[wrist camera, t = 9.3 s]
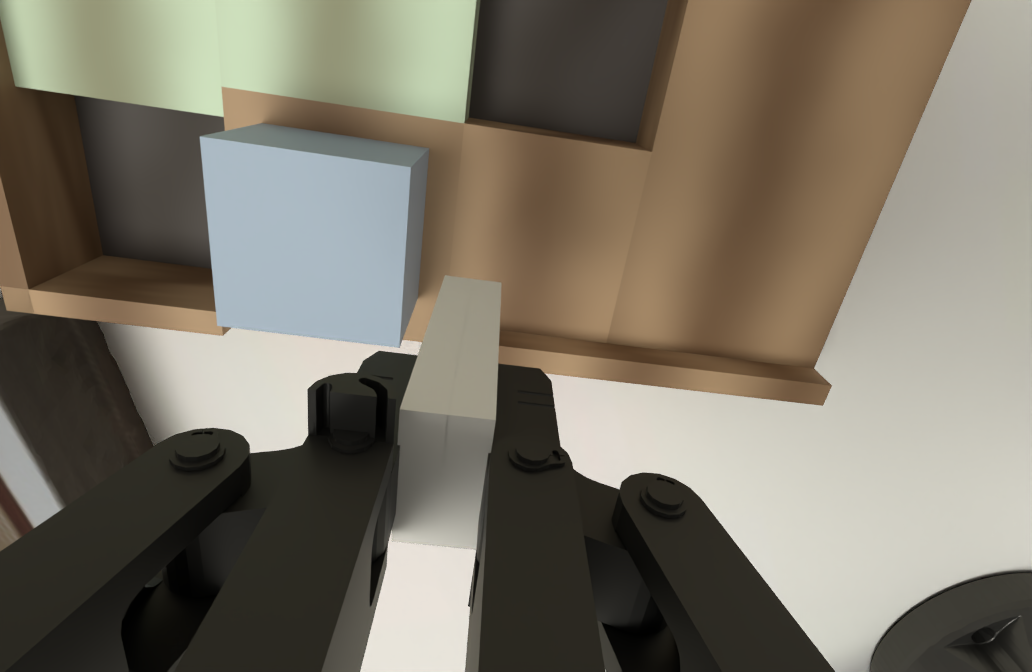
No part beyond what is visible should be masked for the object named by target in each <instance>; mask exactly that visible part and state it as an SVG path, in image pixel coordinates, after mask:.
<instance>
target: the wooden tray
mask: <svg viewBox="0 0 1032 672" xmlns="http://www.w3.org/2000/svg"><path fill="white" fill-rule="evenodd" d="M970 2H971V0H0V288H1V291H2V295H3V299H4V302H5V306H6V310H7V311H15V312H24V313H32V314H41V315H49V316H58V317H67V318H75V319H84V320H92V321H101V322H110V323H118V324H127V325H135V326H144V327H152V328H161V329H170V330H178V331H187V332H195V333H204V334H213V335H221V336H223V335H224V334H225V333H226V332H227V331H228V330H229V329H231V327H222V326H217V318H216V307H215V296H214V286H213V275H212V264H211V253H210V242H209V232H208V221H207V210H206V199H205V189H204V178H203V167H202V156H201V146H200V136H204V135H208V134H213V133H218V132H222V131H227V130H232V129H236V128H241V127H246V126H250V125H255V124H260V123H265V124H271V125H278V126H285V127H291V128H298V129H305V130H311V131H318V132H325V133H331V134H338V135H345V136H352V137H358V138H365V139H372V140H378V141H385V142H392V143H398V144H405V145H412V146H418V147H425V148H429V158H428V171H427V184H426V197H425V211H424V224H423V237H422V250H421V263H420V276H419V290H418V299H417V302H416V305H415V307H414V310H413V313H412V315H411V318H410V321H409V324H408V326H407V329H406V332H405V334H404V337H403V340H410V341H418V342H423V339H424V336H425V333H426V330H427V327H428V324H429V321H430V318H431V315H432V312H433V309H434V306H435V303H436V300H437V297H438V294H439V291H440V288H441V285H442V283H443V280H444V277H445V275H447V276H454V277H462V278H470V279H477V280H485V281H493V282H501V307H500V331H499V355H498V363H499V364H507V365H515V366H524V367H532V368H540V369H541V370H542V371H543V372H544V373H547V374H556V375H565V376H573V377H582V378H590V379H599V380H608V381H616V382H625V383H633V384H642V385H651V386H659V387H668V388H676V389H685V390H693V391H702V392H711V393H719V394H728V395H736V396H745V397H754V398H762V399H771V400H779V401H788V402H797V403H805V404H814V405H822V406H823V404H824V402H825V400H826V398H827V395H828V393H829V391H830V389H831V386H832V385H831V384H830V383H829V382H828V381H826V380H825V379H824V378H823V377H822V376H821V375H820V374H819V373H818V372H817V371H816V370H815V369H814V367H815V365H816V362H817V360H818V358H819V355H820V353H821V351H822V348H823V346H824V344H825V341H826V339H827V337H828V334H829V332H830V330H831V327H832V325H833V323H834V320H835V318H836V316H837V313H838V311H839V309H840V306H841V304H842V302H843V299H844V297H845V295H846V292H847V290H848V288H849V285H850V283H851V280H852V278H853V276H854V273H855V271H856V269H857V266H858V264H859V262H860V259H861V257H862V255H863V252H864V250H865V248H866V245H867V243H868V241H869V238H870V236H871V234H872V231H873V229H874V227H875V224H876V222H877V220H878V217H879V215H880V213H881V210H882V208H883V206H884V203H885V201H886V199H887V196H888V194H889V192H890V189H891V187H892V185H893V182H894V180H895V178H896V175H897V173H898V171H899V168H900V166H901V164H902V161H903V159H904V157H905V154H906V152H907V150H908V147H909V145H910V143H911V140H912V138H913V136H914V133H915V131H916V128H917V126H918V124H919V121H920V119H921V117H922V114H923V112H924V110H925V107H926V105H927V103H928V100H929V98H930V96H931V93H932V91H933V89H934V86H935V84H936V82H937V79H938V77H939V75H940V72H941V70H942V68H943V65H944V63H945V61H946V58H947V56H948V54H949V51H950V49H951V47H952V44H953V42H954V40H955V37H956V35H957V33H958V30H959V28H960V26H961V23H962V21H963V19H964V16H965V14H966V12H967V9H968V7H969V5H970Z"/></svg>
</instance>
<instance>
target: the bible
mask: <svg viewBox="0 0 1032 672" xmlns="http://www.w3.org/2000/svg"><path fill="white" fill-rule="evenodd" d="M152 447H154V446H153V444H152V442H151V440H150V438H149V435H148V433H147V431H146V428H145V426H144V423H143V421H142V419H141V418H140V416H139V414H138V412H137V411H136V407H135V405H134V403H133V401H132V398H131V396H130V392H129V389H128V388H127V385H126V383H125V381H124V378H123V376H122V374H121V372H120V370H119V367H118V365H117V363H116V361H115V360H114V358H113V357H112V355H111V354H110V352H109V350H108V347H107V344H106V341H105V338H104V335H103V333H102V331H101V329H100V327H99V325H98V324H97V322H96V321H92V320H84V319H75V318H67V317H58V316H49V315H41V314H32V313H24V312H15V311H7V310H6V306H5V302H4V299H3V298H1V299H0V551H2V550H3V549H5V548H6V547H7V546H9V545H10V544H12V543H13V542H15V541H16V540H18V539H19V538H21V537H22V536H24V535H25V534H26V533H28V532H29V531H31V530H32V529H34V528H35V527H37V526H38V525H40V524H41V523H43V522H44V521H46V520H47V519H48V518H50V517H51V516H53V515H54V514H56V513H57V512H59V511H60V510H62V509H63V508H65V507H66V506H67V505H69V504H70V503H72V502H73V501H75V500H76V499H78V498H79V497H81V496H82V495H84V494H85V493H86V492H88V491H89V490H91V489H92V488H94V487H95V486H97V485H98V484H100V483H101V482H103V481H104V480H106V479H107V478H108V477H110V476H111V475H113V474H114V473H116V472H117V471H119V470H120V469H122V468H123V467H125V466H126V465H127V464H129V463H130V462H132V461H133V460H135V459H136V458H138V457H139V456H141V455H142V454H144V453H145V452H146V451H148V450H149V449H151V448H152Z"/></svg>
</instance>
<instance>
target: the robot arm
mask: <svg viewBox="0 0 1032 672" xmlns="http://www.w3.org/2000/svg"><path fill="white" fill-rule="evenodd" d="M500 307H501V282H493V281H485V280H477V279H470V278H462V277H454V276H447V275H445V277H444V280H443V283H442V285H441V288H440V291H439V294H438V297H437V300H436V303H435V306H434V309H433V312H432V315H431V318H430V321H429V324H428V327H427V330H426V333H425V336H424V339H423V342H422V345H421V348H420V351H419V354H418V356H417V355H409V354H401V353H392V352H384V351H378V352H376V353H375V354H373V355H372V356H370V357H369V358H367V359H365V360H364V361H363V363H362V365H361V366H360V368H359V370H358V372H357V373H343V374H337V375H331V376H328V377H326V378H323V379H321V380H318V381H316V382H315V383H314V384H313V385H312V386H311V387H309V388H308V436H307V438H306V440H305V442H304V444H303V445H301V446H298V447H295V448H291V449H285V450H279V451H270V452H259V453H250V446H249V443H248V442H247V441H246V439H245V438H244V437H243V436H242V435H240V434H238V433H235V432H233V431H231V430H225V429H218V428H205V429H194V430H191V431H187V432H183V433H180V434H176V435H174V436H172V437H170V438H168V439H166V440H164V441H162V442H160V443H158V444H157V445H155V446H154V447H152V448H151V449H149V450H148V451H146V452H145V453H144V454H142V455H141V456H139V457H138V458H136V459H135V460H133V461H132V462H130V463H129V464H127V465H126V466H125V467H123V468H122V469H120V470H119V471H117V472H116V473H114V474H113V475H111V476H110V477H108V478H107V479H106V480H104V481H103V482H101V483H100V484H98V485H97V486H95V487H94V488H92V489H91V490H89V491H88V492H86V493H85V494H84V495H82V496H81V497H79V498H78V499H76V500H75V501H73V502H72V503H70V504H69V505H67V506H66V507H65V508H63V509H62V510H60V511H59V512H57V513H56V514H54V515H53V516H51V517H50V518H48V519H47V520H46V521H44V522H43V523H41V524H40V525H38V526H37V527H35V528H34V529H32V530H31V531H29V532H28V533H26V534H25V535H24V536H22V537H21V538H19V539H18V540H16V541H15V542H13V543H12V544H10V545H9V546H7V547H6V548H5V549H3V550H2V551H0V672H360V669H361V665H362V661H363V657H364V653H365V650H366V646H367V642H368V638H369V634H370V630H371V626H372V622H373V618H374V614H375V610H376V606H377V602H378V598H379V594H380V590H381V586H382V582H383V578H384V574H385V570H386V565H387V548H388V541H389V537H390V534H391V530H392V542H402V543H413V544H423V545H433V546H444V547H454V548H464V549H475V550H476V556H475V563H474V570H473V576H472V583H471V590H470V597H469V604H468V606H469V607H470V616H469V629H468V642H467V654H466V667H465V672H605V669H606V672H835V671H834V670H833V668H832V667H831V666H830V664H829V663H828V662H827V661H826V659H825V658H824V657H823V655H822V654H821V653H820V652H819V650H818V649H817V648H816V646H815V645H814V644H813V643H812V641H811V640H810V639H809V637H808V636H807V635H806V633H805V632H804V631H803V630H802V628H801V627H800V626H799V624H798V623H797V622H796V621H795V619H794V618H793V617H792V615H791V614H790V613H789V612H788V610H787V609H786V608H785V606H784V605H783V604H782V603H781V601H780V600H779V599H778V597H777V596H776V595H775V593H774V592H773V591H772V590H771V588H770V587H769V586H768V584H767V583H766V582H765V581H764V579H763V578H762V577H761V575H760V574H759V573H758V572H757V570H756V569H755V568H754V566H753V565H752V564H751V563H750V561H749V560H748V559H747V557H746V556H745V555H744V553H743V552H742V551H741V550H740V548H739V547H738V546H737V544H736V543H735V542H734V541H733V539H732V538H731V537H730V535H729V534H728V533H727V532H726V530H725V529H724V528H723V526H722V525H721V524H720V523H719V521H718V520H717V519H716V517H715V516H714V515H713V513H712V512H711V511H710V510H709V508H708V507H707V506H706V504H705V503H704V502H703V501H702V499H701V498H700V497H699V496H698V495H697V494H696V493H695V492H694V491H693V490H692V489H691V488H689V487H688V486H686V485H684V484H683V483H681V482H679V481H677V480H676V479H673V478H670V477H667V476H664V475H661V474H655V473H639V474H634V475H630V476H629V477H628V478H626V479H625V480H624V481H623V482H622V483H621V487H620V490H619V489H616V488H613V487H610V486H607V485H604V484H601V483H598V482H596V481H593V480H591V479H589V478H586V477H585V476H583V475H581V474H580V473H578V472H577V471H575V470H574V469H573V466H572V462H571V459H570V457H569V455H568V453H567V452H566V451H565V450H564V449H563V448H561V447H560V441H559V433H558V426H557V419H556V412H555V408H554V406H555V405H554V397H553V390H552V383H551V380H550V379H549V378H548V377H547V376H546V374H545V373H544V372H543V371H542V370H541V369H540V368H532V367H524V366H515V365H507V364H499V363H498V355H499V331H500ZM870 672H1032V573H1016V574H1007V575H1000V576H994V577H989V578H985V579H981V580H977V581H974V582H971V583H968V584H965V585H962V586H959V587H956V588H954V589H951V590H949V591H947V592H945V593H942V594H940V595H938V596H936V597H934V598H933V599H931V600H929V601H927V602H925V603H924V604H922V605H921V606H919V607H917V608H916V609H915V610H913V611H912V612H910V613H909V614H908V615H906V616H905V617H904V618H903V619H901V620H900V621H899V622H898V623H897V624H896V625H895V626H894V627H893V628H892V629H891V630H890V631H889V632H888V633H887V635H886V636H885V637H884V638H883V640H882V641H881V643H880V644H879V646H878V648H877V649H876V651H875V653H874V656H873V659H872V662H871V667H870Z"/></svg>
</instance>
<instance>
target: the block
mask: <svg viewBox="0 0 1032 672" xmlns="http://www.w3.org/2000/svg"><path fill="white" fill-rule="evenodd" d="M200 146H201V156H202V167H203V178H204V189H205V199H206V210H207V221H208V232H209V242H210V253H211V264H212V275H213V286H214V296H215V307H216V318H217V326H222V327H231V328H239V329H247V330H256V331H264V332H272V333H281V334H289V335H297V336H306V337H314V338H323V339H331V340H339V341H348V342H356V343H364V344H373V345H381V346H389V347H398V348H400V345H401V342H402V340H403V337H404V334H405V332H406V329H407V326H408V324H409V321H410V318H411V315H412V313H413V310H414V307H415V305H416V302H417V299H418V290H419V276H420V263H421V250H422V237H423V224H424V211H425V197H426V184H427V171H428V158H429V148H425V147H418V146H412V145H405V144H398V143H392V142H385V141H378V140H372V139H365V138H358V137H352V136H345V135H338V134H331V133H325V132H318V131H311V130H305V129H298V128H291V127H285V126H278V125H271V124H265V123H260V124H255V125H250V126H246V127H241V128H236V129H232V130H227V131H222V132H218V133H213V134H208V135H204V136H200Z"/></svg>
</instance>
